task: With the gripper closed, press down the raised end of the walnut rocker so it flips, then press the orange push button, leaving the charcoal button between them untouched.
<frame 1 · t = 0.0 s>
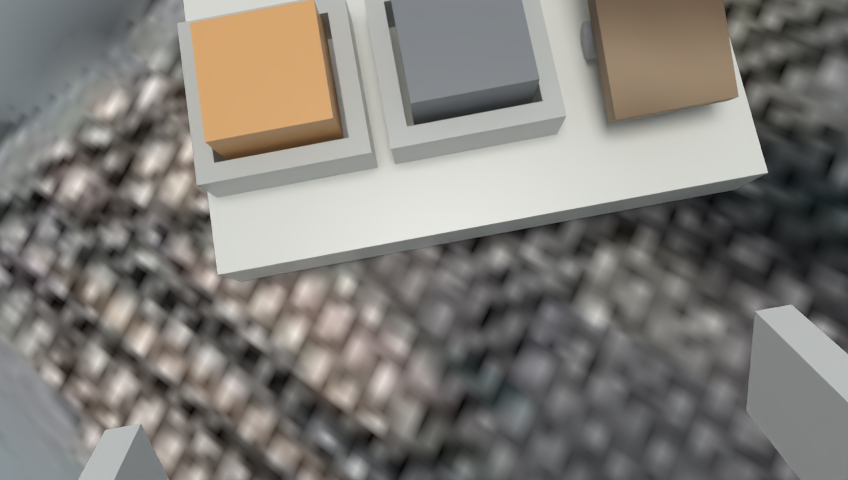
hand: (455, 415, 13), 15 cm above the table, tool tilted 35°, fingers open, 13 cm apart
switch housing: (459, 99, 31), on the table
charcoal button: (461, 45, 25), point 6 cm above the table, slide at 0.0 cm
orange button: (269, 82, 25), point 6 cm above the table, slide at 0.0 cm
walnut rocker: (655, 12, 25), point 5 cm above the table, hinge at -12.0°
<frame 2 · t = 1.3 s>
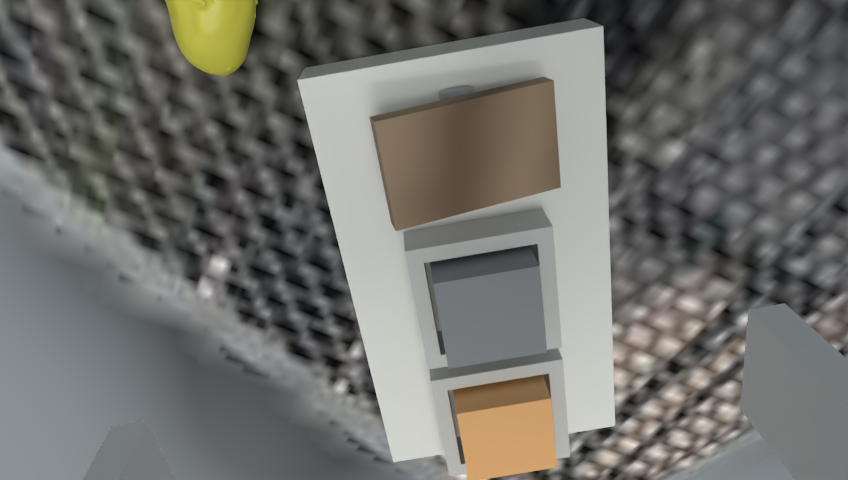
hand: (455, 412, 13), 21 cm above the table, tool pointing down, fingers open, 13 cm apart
switch housing: (473, 254, 36), on the table
charcoal button: (488, 306, 31), point 6 cm above the table, slide at 0.0 cm
orange button: (504, 425, 34), point 6 cm above the table, slide at 0.0 cm
walnut rocker: (469, 153, 27), point 5 cm above the table, hinge at -12.0°
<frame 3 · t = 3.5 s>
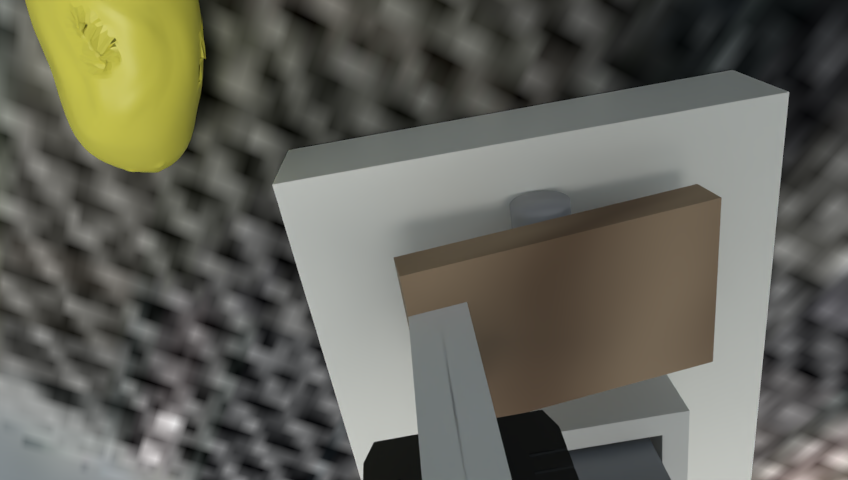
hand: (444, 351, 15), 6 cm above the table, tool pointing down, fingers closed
switch housing: (540, 403, 24), on the table
lemon: (147, 17, 18), on the table
walnut rocker: (563, 313, 16), point 5 cm above the table, hinge at -8.0°, touching gripper
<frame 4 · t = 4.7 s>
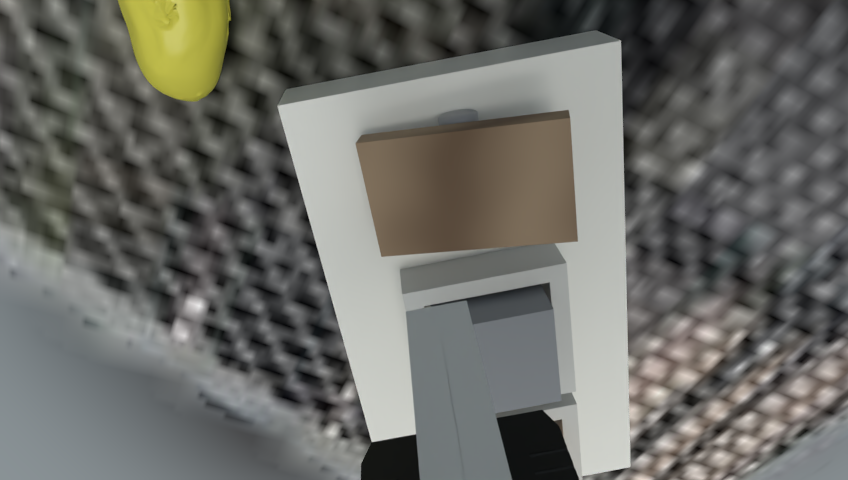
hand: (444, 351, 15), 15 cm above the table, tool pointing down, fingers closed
switch housing: (475, 287, 33), on the table
charcoal button: (495, 351, 28), point 6 cm above the table, slide at 0.0 cm
walnut rocker: (469, 187, 24), point 5 cm above the table, hinge at 13.3°
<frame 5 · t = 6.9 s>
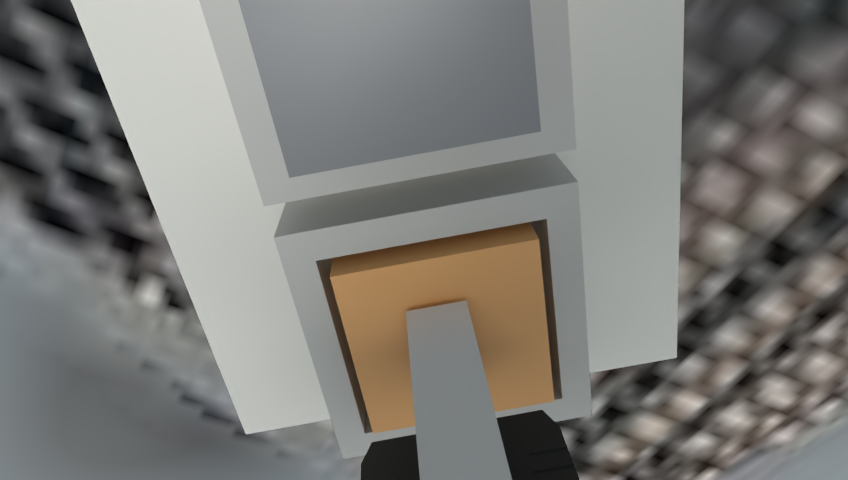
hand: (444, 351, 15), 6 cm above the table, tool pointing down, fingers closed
charcoal button: (389, 14, 12), point 6 cm above the table, slide at 0.0 cm
orange button: (445, 317, 17), point 4 cm above the table, slide at 1.2 cm, touching gripper
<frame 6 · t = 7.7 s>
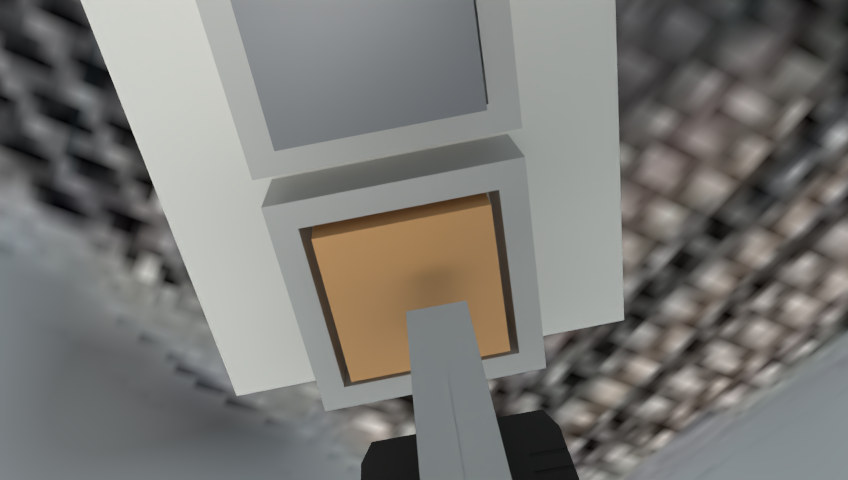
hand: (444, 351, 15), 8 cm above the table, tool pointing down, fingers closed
charcoal button: (357, 12, 14), point 6 cm above the table, slide at 0.0 cm
orange button: (413, 278, 19), point 4 cm above the table, slide at 1.4 cm, touching switch housing
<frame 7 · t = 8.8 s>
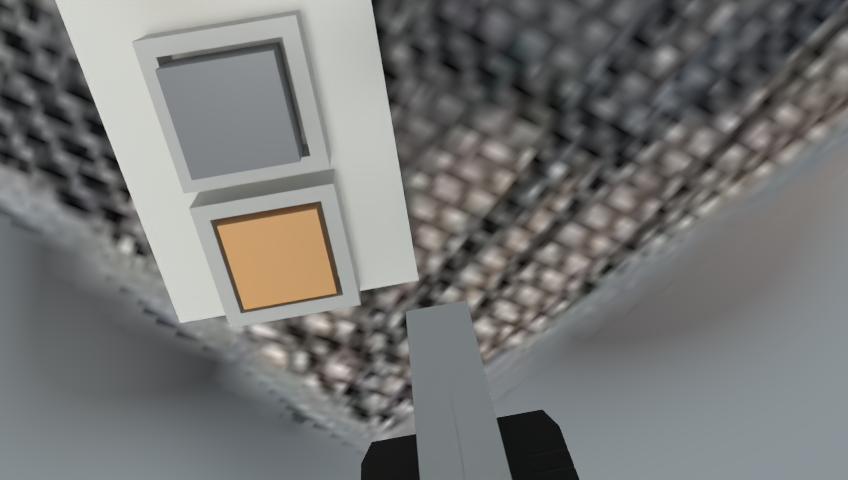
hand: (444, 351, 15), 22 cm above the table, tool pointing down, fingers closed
switch housing: (252, 85, 33), on the table
charcoal button: (235, 111, 28), point 6 cm above the table, slide at 0.0 cm
orange button: (281, 250, 33), point 4 cm above the table, slide at 1.4 cm, touching switch housing
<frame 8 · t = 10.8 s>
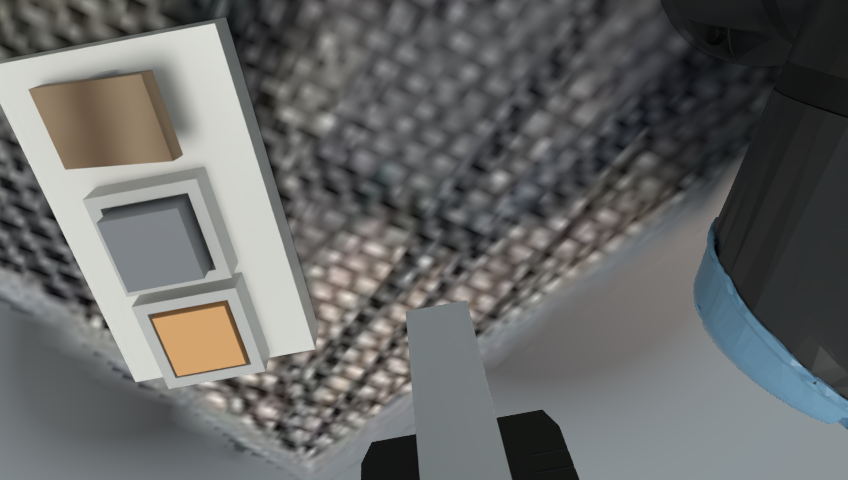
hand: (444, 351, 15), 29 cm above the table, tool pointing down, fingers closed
switch housing: (182, 208, 44), on the table
charcoal button: (158, 243, 39), point 6 cm above the table, slide at 0.0 cm
orange button: (204, 332, 44), point 4 cm above the table, slide at 1.4 cm, touching switch housing
walnut rocker: (106, 122, 36), point 5 cm above the table, hinge at 19.2°
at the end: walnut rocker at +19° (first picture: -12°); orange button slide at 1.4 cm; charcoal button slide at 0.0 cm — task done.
